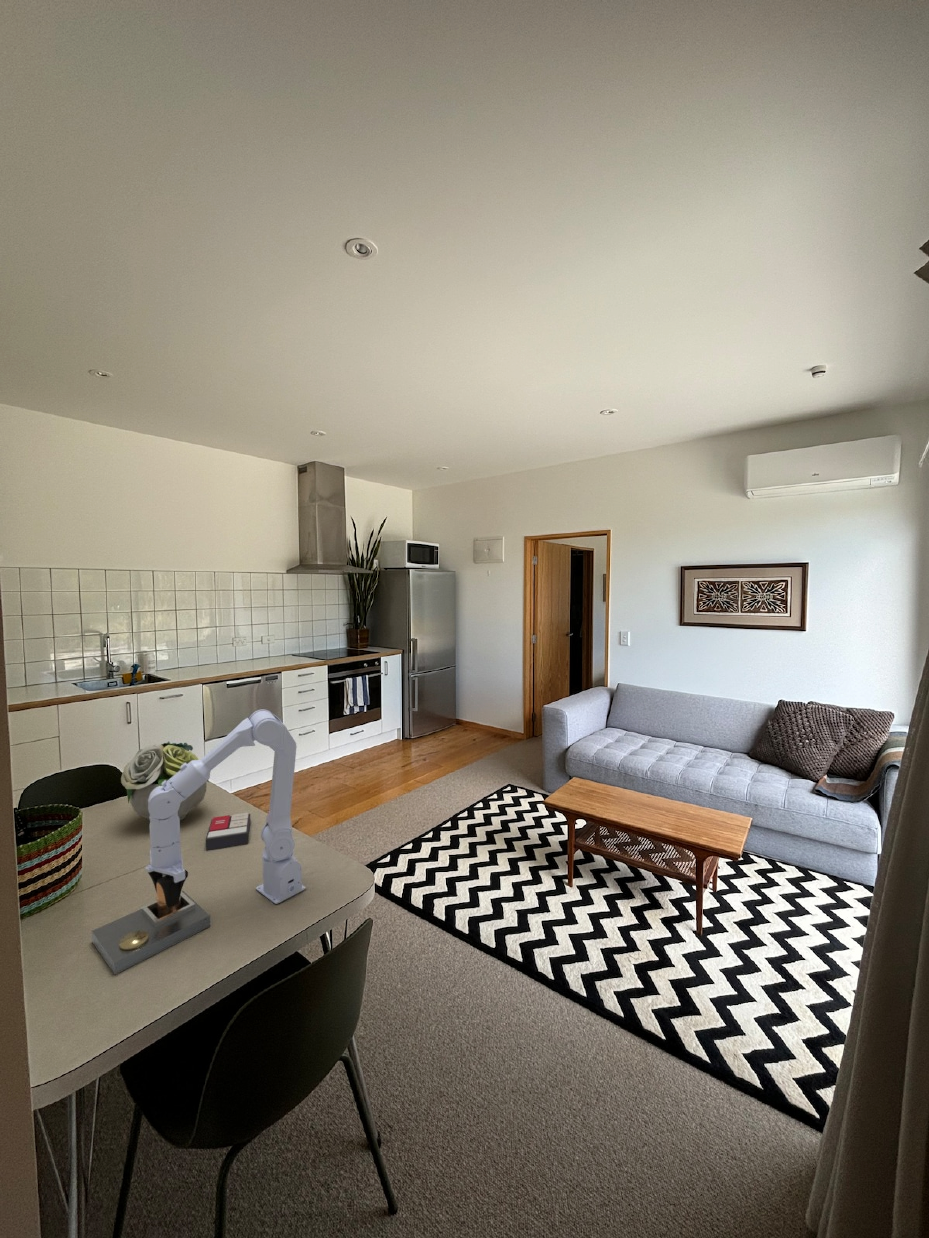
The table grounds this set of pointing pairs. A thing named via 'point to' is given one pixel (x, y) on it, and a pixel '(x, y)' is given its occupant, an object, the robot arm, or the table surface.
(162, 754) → the flower arrangement
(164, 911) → the copper cylinder
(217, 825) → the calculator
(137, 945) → the grey peg holder base
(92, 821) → the table surface
